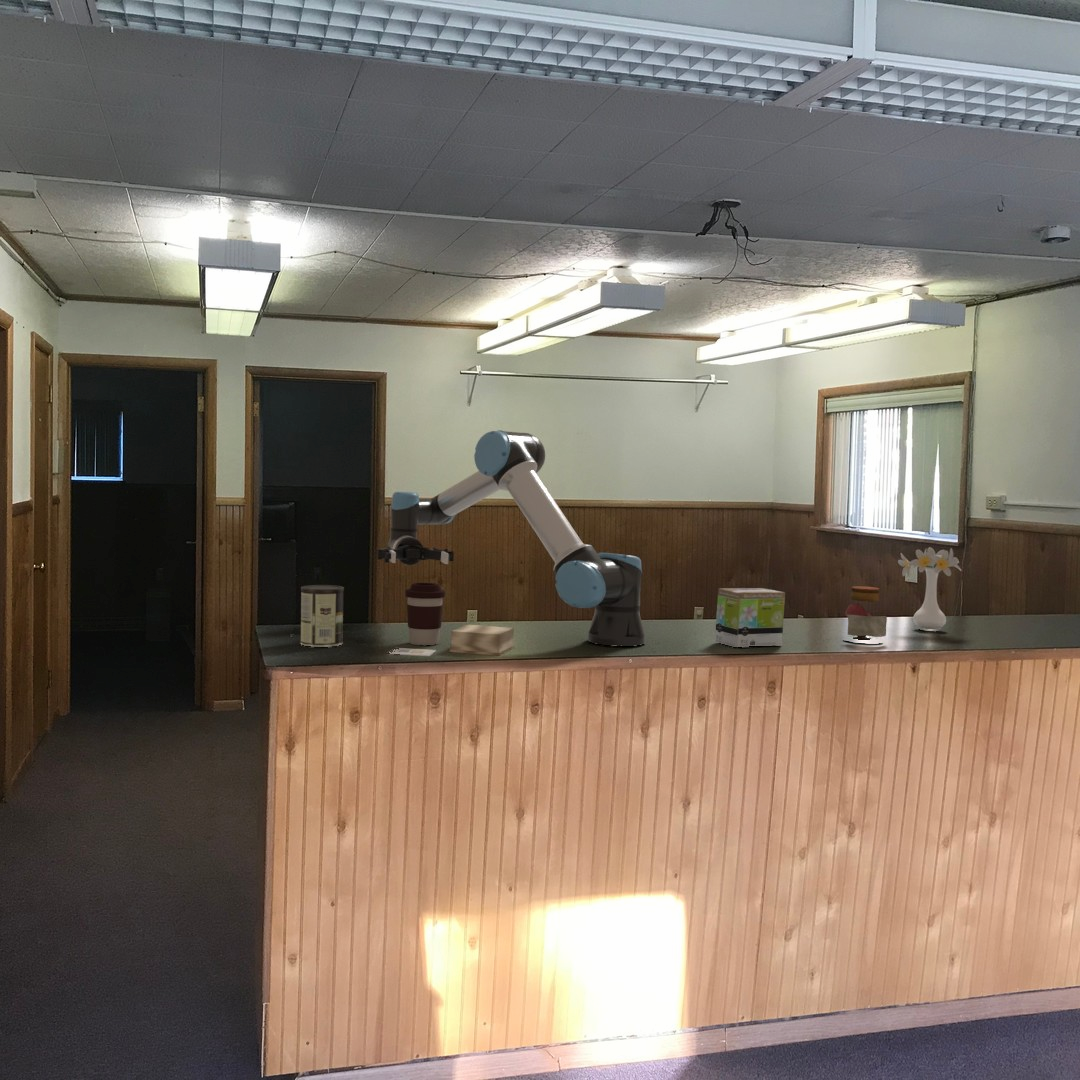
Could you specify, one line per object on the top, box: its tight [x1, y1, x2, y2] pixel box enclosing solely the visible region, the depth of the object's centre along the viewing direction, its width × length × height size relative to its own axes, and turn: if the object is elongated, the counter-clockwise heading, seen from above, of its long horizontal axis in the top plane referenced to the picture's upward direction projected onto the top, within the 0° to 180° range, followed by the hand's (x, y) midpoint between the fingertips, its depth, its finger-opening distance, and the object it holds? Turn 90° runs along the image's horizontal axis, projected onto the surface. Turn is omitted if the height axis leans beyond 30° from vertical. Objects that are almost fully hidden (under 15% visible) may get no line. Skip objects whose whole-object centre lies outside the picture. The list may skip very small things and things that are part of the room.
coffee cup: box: [404, 582, 446, 647], centre depth 268 cm, size 10×10×15 cm
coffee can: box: [300, 584, 345, 648], centre depth 262 cm, size 10×10×14 cm
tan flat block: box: [449, 624, 515, 657], centre depth 262 cm, size 12×12×5 cm
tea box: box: [714, 587, 786, 648], centre depth 284 cm, size 15×10×15 cm, turn 117°
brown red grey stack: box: [844, 585, 888, 640], centre depth 296 cm, size 12×13×15 cm
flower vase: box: [897, 546, 962, 629], centre depth 322 cm, size 13×18×25 cm
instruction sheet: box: [388, 647, 437, 657], centre depth 256 cm, size 10×8×1 cm
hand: (420, 558), depth 276 cm, fingers open, 13 cm apart
